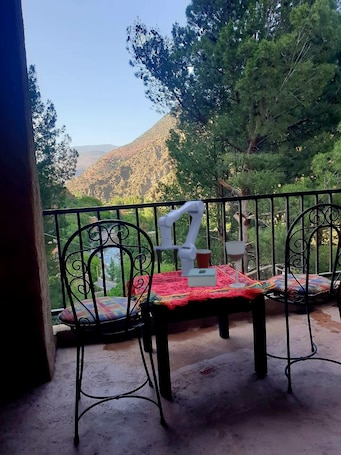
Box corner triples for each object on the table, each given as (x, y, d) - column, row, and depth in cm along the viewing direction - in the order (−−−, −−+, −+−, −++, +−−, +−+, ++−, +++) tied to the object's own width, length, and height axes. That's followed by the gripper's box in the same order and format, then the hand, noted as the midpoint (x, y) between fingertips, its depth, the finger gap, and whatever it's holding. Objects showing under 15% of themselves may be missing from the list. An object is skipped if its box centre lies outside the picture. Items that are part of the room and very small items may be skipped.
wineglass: (230, 282, 188) (228, 240, 185) (249, 283, 183) (246, 240, 181) (225, 287, 180) (223, 243, 177) (244, 288, 176) (242, 243, 173)
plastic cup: (211, 271, 214) (210, 251, 213) (193, 272, 216) (192, 252, 215) (213, 267, 225) (212, 248, 223) (196, 267, 227) (195, 249, 225)
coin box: (191, 279, 199) (190, 269, 199) (216, 278, 197) (216, 268, 196) (188, 286, 186) (187, 275, 185) (215, 286, 183) (214, 274, 182)
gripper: (151, 239, 195) (153, 264, 196) (178, 238, 192) (179, 263, 194) (154, 238, 202) (156, 261, 203) (180, 236, 199) (181, 261, 200)
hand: (168, 262), depth 199 cm, fingers open, 7 cm apart
